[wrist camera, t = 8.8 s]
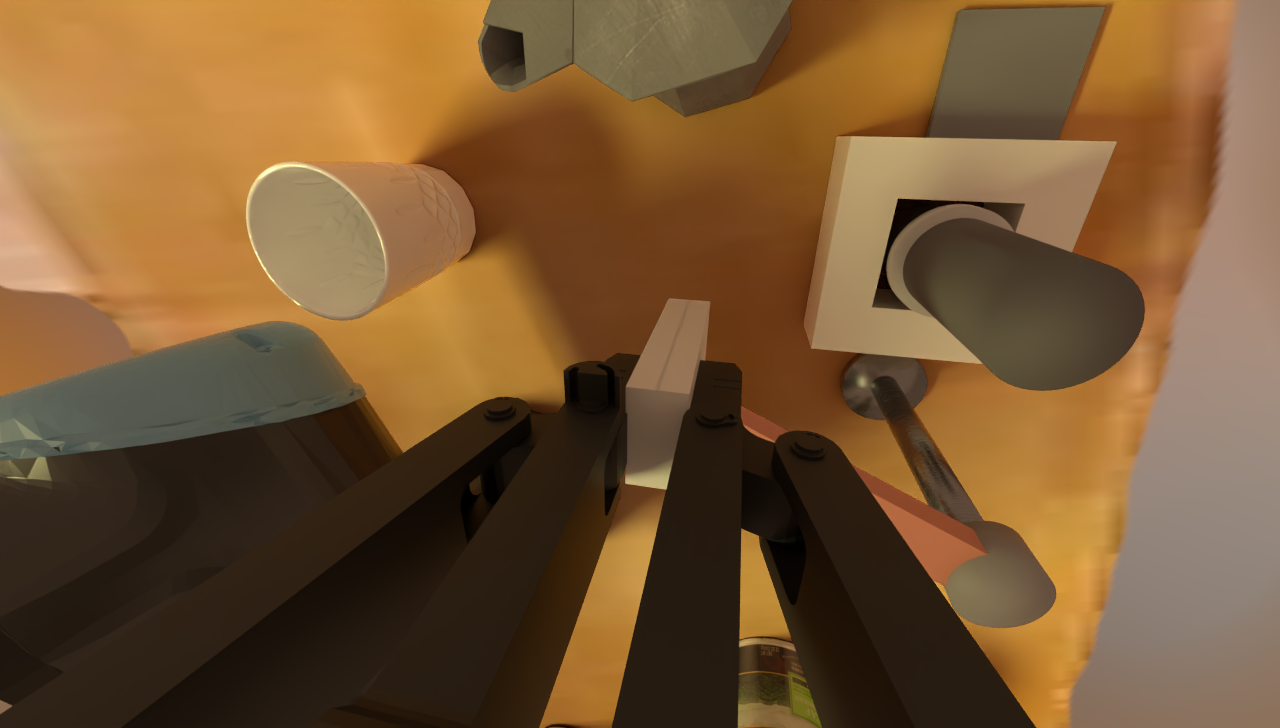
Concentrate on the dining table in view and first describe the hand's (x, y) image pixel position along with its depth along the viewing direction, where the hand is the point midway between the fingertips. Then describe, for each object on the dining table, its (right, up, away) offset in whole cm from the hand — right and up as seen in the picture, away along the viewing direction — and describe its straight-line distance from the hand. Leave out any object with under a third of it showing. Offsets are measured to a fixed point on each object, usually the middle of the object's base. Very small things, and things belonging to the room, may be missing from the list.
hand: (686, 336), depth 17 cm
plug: (+14, +6, +11) cm, 19 cm away
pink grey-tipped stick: (+6, -5, +2) cm, 8 cm away
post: (+14, -2, +15) cm, 21 cm away
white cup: (-16, +9, +16) cm, 25 cm away
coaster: (+17, +13, +7) cm, 22 cm away
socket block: (+14, +6, +11) cm, 19 cm away
